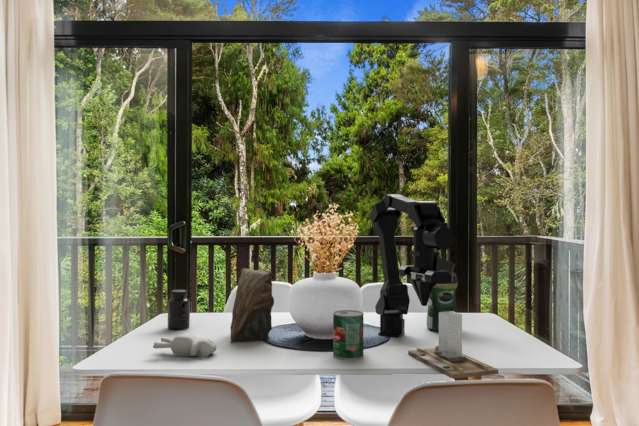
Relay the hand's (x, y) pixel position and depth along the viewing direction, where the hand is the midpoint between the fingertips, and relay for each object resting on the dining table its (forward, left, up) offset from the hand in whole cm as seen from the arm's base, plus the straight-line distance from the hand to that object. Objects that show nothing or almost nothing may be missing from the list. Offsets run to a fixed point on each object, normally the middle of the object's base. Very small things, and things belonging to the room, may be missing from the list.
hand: (424, 305), depth 137 cm
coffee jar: (-2, +28, -12) cm, 31 cm away
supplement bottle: (-77, -10, -12) cm, 79 cm away
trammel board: (+9, -9, -12) cm, 17 cm away
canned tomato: (-16, -14, -12) cm, 25 cm away
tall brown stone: (-50, -11, -12) cm, 53 cm away
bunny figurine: (-53, -33, -12) cm, 64 cm away
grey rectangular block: (+8, -10, -11) cm, 17 cm away
